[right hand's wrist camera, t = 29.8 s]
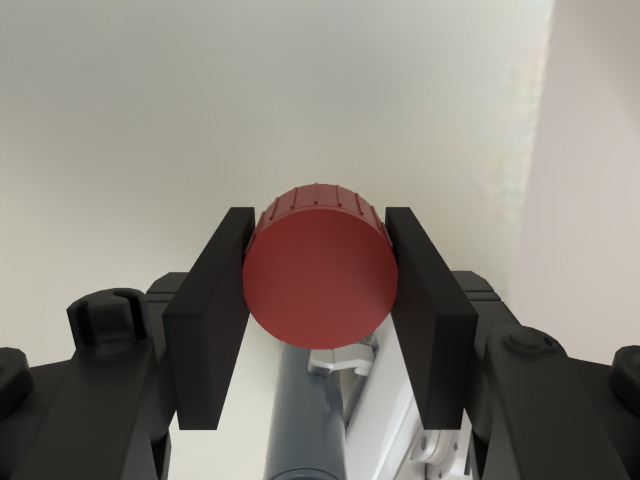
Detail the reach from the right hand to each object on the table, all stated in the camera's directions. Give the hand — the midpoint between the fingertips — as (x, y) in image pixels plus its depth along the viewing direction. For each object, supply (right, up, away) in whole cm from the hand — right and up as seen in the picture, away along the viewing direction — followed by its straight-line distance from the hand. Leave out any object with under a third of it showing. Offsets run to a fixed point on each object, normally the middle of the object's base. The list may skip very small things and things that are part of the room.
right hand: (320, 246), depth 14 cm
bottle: (-1, -10, +27) cm, 29 cm away
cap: (0, -1, -2) cm, 2 cm away
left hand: (-2, -12, +21) cm, 25 cm away
